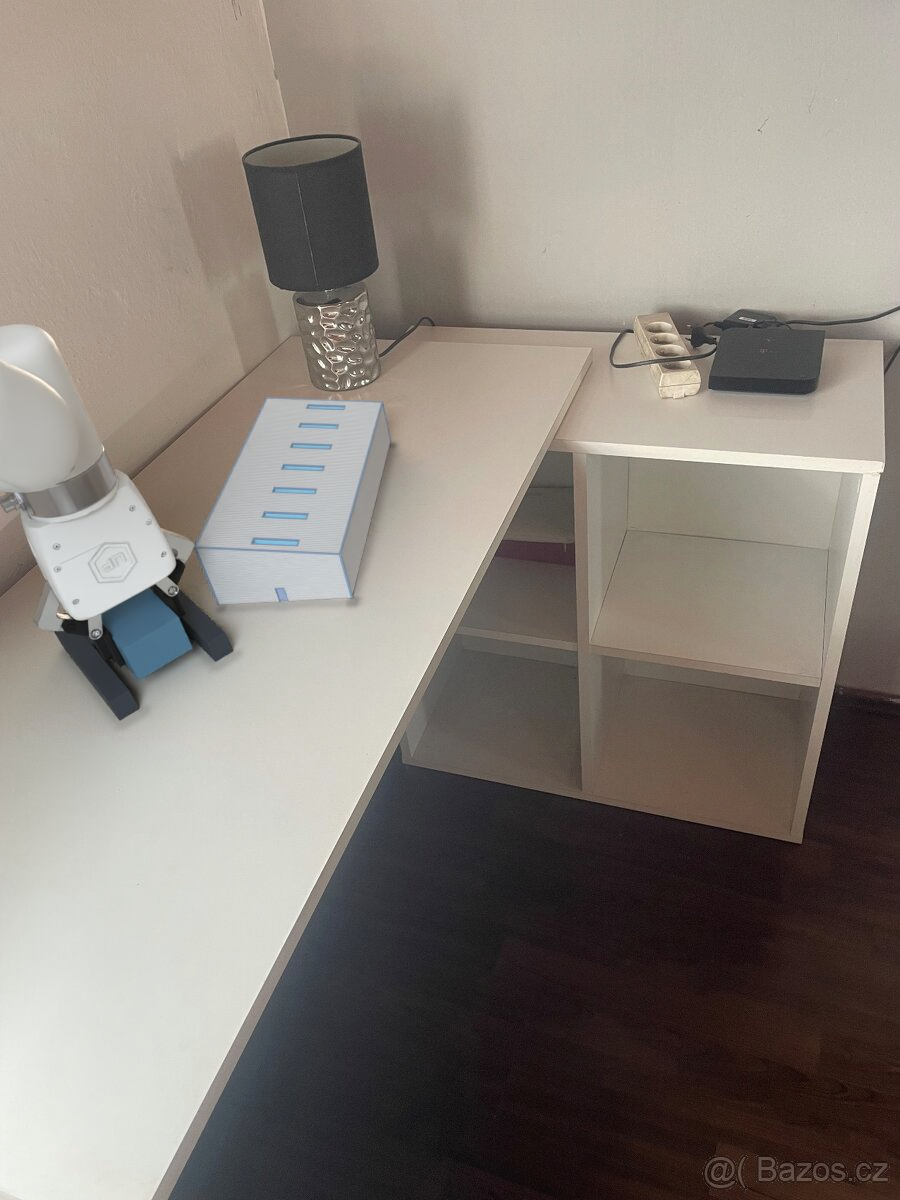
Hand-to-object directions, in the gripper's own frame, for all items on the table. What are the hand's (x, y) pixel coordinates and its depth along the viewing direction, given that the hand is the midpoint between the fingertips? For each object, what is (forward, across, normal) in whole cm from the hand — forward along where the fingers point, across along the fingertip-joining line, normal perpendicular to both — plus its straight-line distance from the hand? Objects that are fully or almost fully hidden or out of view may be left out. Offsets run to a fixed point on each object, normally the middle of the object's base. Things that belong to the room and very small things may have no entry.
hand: (146, 639), depth 82 cm
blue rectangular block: (+1, 0, 0) cm, 1 cm away
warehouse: (+3, +24, +8) cm, 26 cm away
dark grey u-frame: (+3, 0, +2) cm, 4 cm away
